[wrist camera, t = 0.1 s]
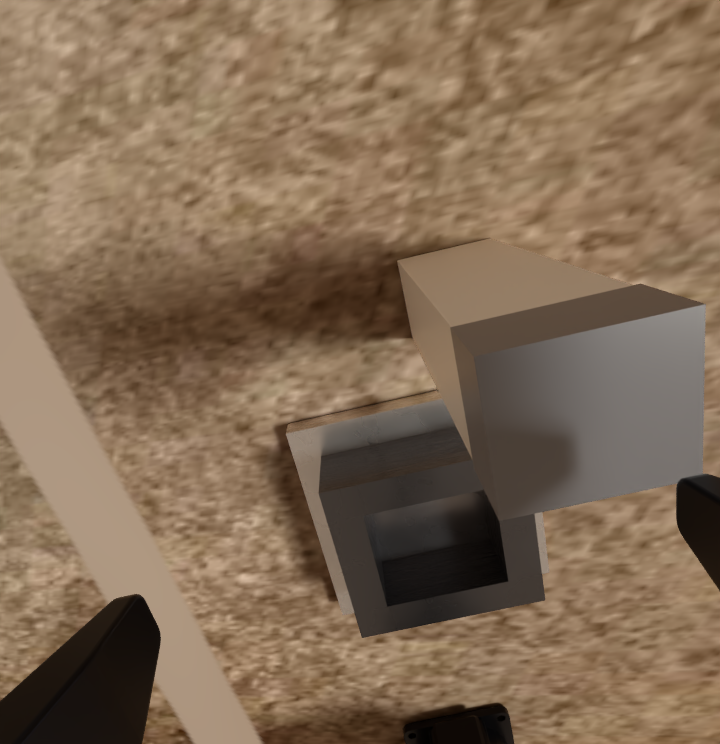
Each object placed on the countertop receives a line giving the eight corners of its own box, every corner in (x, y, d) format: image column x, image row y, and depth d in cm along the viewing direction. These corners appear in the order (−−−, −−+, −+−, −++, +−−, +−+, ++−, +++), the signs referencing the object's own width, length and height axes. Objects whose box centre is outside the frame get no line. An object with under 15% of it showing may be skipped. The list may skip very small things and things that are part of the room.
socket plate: (541, 558, 27) (574, 619, 23) (342, 600, 27) (343, 666, 23) (518, 372, 23) (554, 407, 19) (287, 423, 23) (278, 468, 20)
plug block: (502, 318, 22) (702, 478, 10) (411, 339, 22) (499, 521, 10) (491, 236, 21) (705, 304, 9) (395, 259, 21) (473, 356, 9)
